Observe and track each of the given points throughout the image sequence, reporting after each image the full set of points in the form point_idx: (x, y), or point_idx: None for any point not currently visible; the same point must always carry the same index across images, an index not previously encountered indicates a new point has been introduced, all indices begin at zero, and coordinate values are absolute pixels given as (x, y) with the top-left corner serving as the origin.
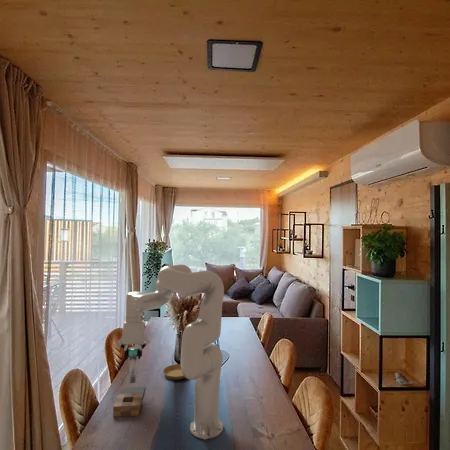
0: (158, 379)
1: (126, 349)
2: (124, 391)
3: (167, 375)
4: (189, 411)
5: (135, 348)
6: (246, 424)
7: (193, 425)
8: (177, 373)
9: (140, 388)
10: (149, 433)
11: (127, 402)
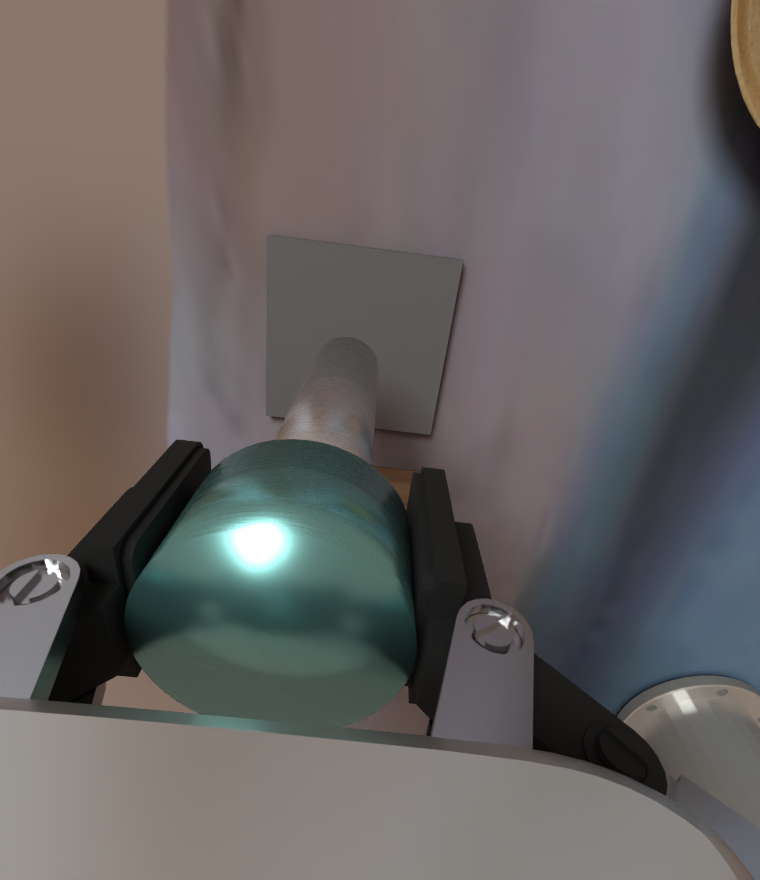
0: (624, 77)
1: (100, 703)
2: (286, 313)
3: (747, 107)
4: (674, 608)
5: (321, 625)
6: None
7: (639, 723)
8: None
9: (420, 289)
10: None
11: None
